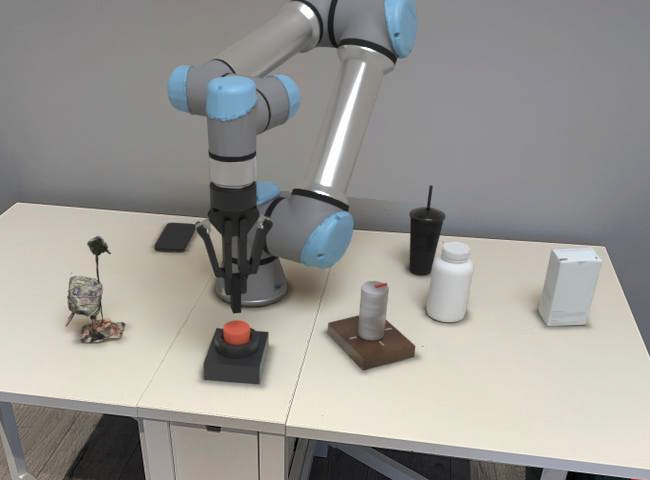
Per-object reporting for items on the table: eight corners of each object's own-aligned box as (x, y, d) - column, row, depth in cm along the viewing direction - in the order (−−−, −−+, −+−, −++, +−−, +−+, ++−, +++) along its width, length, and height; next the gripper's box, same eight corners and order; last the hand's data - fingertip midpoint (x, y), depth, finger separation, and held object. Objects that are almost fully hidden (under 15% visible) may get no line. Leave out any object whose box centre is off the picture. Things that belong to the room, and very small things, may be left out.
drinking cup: (442, 268, 173) (455, 184, 162) (429, 281, 168) (441, 195, 157) (411, 260, 177) (421, 176, 165) (397, 273, 171) (406, 187, 160)
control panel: (327, 333, 150) (328, 321, 149) (375, 321, 154) (376, 310, 152) (363, 370, 140) (364, 358, 138) (414, 357, 143) (415, 345, 142)
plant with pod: (76, 320, 153) (61, 228, 142) (131, 325, 152) (120, 232, 141) (61, 342, 147) (44, 247, 136) (118, 347, 146) (106, 251, 134)
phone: (196, 223, 191) (183, 249, 178) (196, 226, 191) (184, 252, 179) (167, 222, 192) (152, 247, 179) (167, 225, 192) (153, 250, 180)
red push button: (226, 330, 140) (225, 319, 139) (252, 332, 140) (251, 321, 138) (221, 344, 136) (220, 333, 135) (247, 346, 136) (247, 335, 134)
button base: (217, 344, 147) (215, 317, 143) (268, 348, 146) (268, 321, 142) (204, 380, 137) (202, 352, 133) (259, 384, 136) (259, 356, 132)
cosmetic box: (575, 311, 158) (593, 245, 149) (586, 327, 153) (605, 259, 144) (535, 312, 157) (550, 246, 149) (545, 327, 152) (561, 260, 144)
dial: (366, 343, 143) (370, 294, 137) (352, 330, 146) (356, 282, 141) (389, 337, 144) (394, 289, 138) (375, 324, 148) (380, 277, 142)
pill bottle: (465, 325, 153) (477, 257, 144) (425, 321, 154) (434, 253, 146) (465, 306, 159) (476, 240, 151) (426, 302, 160) (435, 236, 152)
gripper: (268, 169, 126) (267, 295, 139) (189, 175, 123) (196, 302, 136) (278, 186, 120) (276, 316, 133) (195, 192, 117) (202, 324, 130)
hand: (235, 309), depth 135 cm, fingers closed
